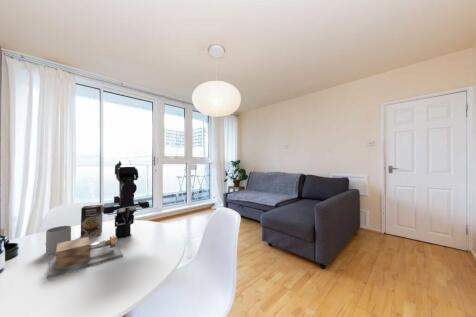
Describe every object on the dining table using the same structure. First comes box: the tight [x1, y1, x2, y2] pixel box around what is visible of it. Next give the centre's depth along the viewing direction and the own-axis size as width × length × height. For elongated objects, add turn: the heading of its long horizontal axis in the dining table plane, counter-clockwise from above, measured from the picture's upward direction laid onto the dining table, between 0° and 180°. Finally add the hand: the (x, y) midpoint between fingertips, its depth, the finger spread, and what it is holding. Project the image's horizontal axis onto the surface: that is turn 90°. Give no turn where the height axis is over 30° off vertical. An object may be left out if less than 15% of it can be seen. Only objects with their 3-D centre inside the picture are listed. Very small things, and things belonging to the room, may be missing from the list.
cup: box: [45, 225, 72, 256], centre depth 87 cm, size 8×8×10 cm
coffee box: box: [80, 204, 104, 239], centre depth 106 cm, size 9×6×16 cm
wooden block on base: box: [46, 237, 124, 279], centre depth 80 cm, size 23×16×8 cm
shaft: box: [90, 235, 116, 250], centre depth 82 cm, size 14×5×5 cm, turn 131°
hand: (126, 224), depth 90 cm, fingers closed
